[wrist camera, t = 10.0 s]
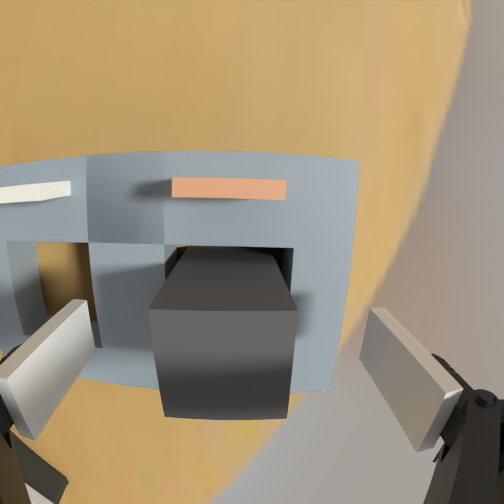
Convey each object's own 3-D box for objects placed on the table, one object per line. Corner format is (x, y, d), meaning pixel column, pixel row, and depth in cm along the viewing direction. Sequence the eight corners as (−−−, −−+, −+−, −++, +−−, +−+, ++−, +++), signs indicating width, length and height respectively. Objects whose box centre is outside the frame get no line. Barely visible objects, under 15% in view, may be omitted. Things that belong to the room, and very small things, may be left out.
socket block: (28, 336, 21) (-16, 378, 14) (8, 169, 17) (-56, 174, 11) (315, 358, 22) (341, 421, 15) (335, 163, 19) (385, 158, 12)
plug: (192, 315, 21) (164, 416, 11) (189, 244, 20) (147, 308, 10) (265, 316, 21) (286, 418, 11) (268, 244, 20) (297, 310, 10)
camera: (-31, 410, 24) (-64, 451, 14) (-20, 390, 23) (-61, 437, 13) (52, 485, 27) (31, 532, 17) (75, 476, 26) (53, 533, 16)
